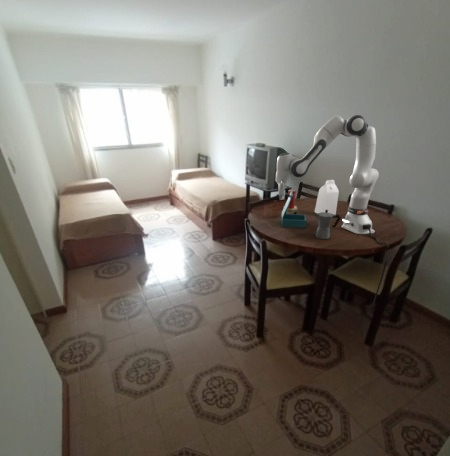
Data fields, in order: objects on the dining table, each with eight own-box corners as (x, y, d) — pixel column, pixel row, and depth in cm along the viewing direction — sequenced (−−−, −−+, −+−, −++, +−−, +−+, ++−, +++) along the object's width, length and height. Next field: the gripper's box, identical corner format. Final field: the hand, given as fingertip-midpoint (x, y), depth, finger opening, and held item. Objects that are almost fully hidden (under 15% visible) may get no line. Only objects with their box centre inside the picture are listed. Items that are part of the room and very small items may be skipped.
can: (295, 208, 208) (297, 190, 202) (288, 209, 207) (290, 191, 201) (292, 206, 213) (294, 189, 207) (285, 206, 212) (287, 189, 206)
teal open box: (303, 222, 205) (304, 214, 202) (305, 228, 193) (306, 220, 191) (281, 221, 207) (282, 213, 204) (281, 227, 196) (282, 219, 193)
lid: (292, 191, 195) (286, 189, 195) (293, 196, 184) (286, 193, 184) (282, 213, 204) (276, 211, 204) (282, 219, 193) (276, 216, 193)
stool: (295, 215, 217) (296, 206, 214) (296, 220, 209) (297, 209, 205) (282, 215, 219) (283, 205, 215) (283, 219, 210) (284, 209, 206)
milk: (326, 210, 228) (332, 178, 216) (335, 214, 219) (342, 181, 206) (314, 212, 225) (319, 179, 212) (323, 216, 216) (328, 182, 203)
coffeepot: (311, 237, 179) (315, 211, 170) (312, 232, 186) (316, 206, 177) (336, 241, 173) (341, 213, 165) (336, 235, 181) (342, 209, 172)
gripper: (287, 182, 177) (285, 203, 183) (286, 176, 194) (284, 195, 201) (277, 181, 178) (275, 203, 184) (277, 175, 195) (276, 195, 202)
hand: (280, 199), depth 193 cm, fingers closed
